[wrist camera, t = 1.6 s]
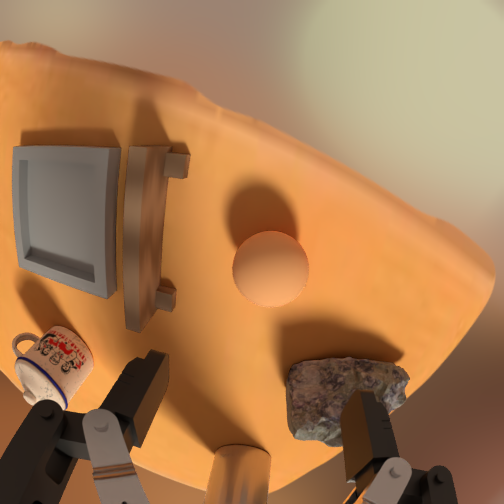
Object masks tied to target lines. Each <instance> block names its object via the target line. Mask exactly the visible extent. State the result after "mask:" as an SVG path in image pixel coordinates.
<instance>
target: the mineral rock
mask: <svg viewBox="0 0 504 504" xmlns="http://www.w3.org/2000/svg"><path fill="white" fill-rule="evenodd" d="M409 380H410V377H409V376H408V374H407V372H406V371H405V370H404V369H403V368H401V367H400V366H396V365H395V364H394V363H391V362H383V361H375V360H369V359H353V358H352V357H346V358H344V359H338V358H327V359H324V360H312V361H303V362H301V363H299V364H294V365H293V366H292V367H291V369H290V372H289V375H288V378H287V383H286V403H287V422H288V427H289V430H290V431H291V433H292V434H293V437H294V438H295V439H298V440H304V441H305V440H318V441H321V442H323V443H325V444H326V445H327V446H329V447H341V446H343V442H342V434H341V426H340V417H341V413H342V410H343V409H344V407H345V405H346V404H347V402H348V401H349V399H350V397H351V396H352V394H353V393H354V391H355V390H356V389H359V390H372V391H374V394H375V397H376V401H377V402H381V403H382V404H383V405H384V407H385V408H386V409H387V411H388V414H389V413H390V412H391V411H392V410H395V409H396V408H398V407H400V406H401V405H402V404H403V403H404V402H405V401H406V395H405V387H406V385H407V383H408V381H409Z"/></svg>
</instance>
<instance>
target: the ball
mask: <svg viewBox="0 0 504 504" xmlns="http://www.w3.org/2000/svg"><path fill="white" fill-rule="evenodd" d="M232 269H233V278H234V281H235V284H236V286H237V288H238V290H239V291H240V293H241V294H242V295H243V296H244V297H245V298H246V299H247V300H249V301H250V302H252V303H254V304H256V305H259V306H262V307H279V306H282V305H285V304H287V303H289V302H291V301H292V300H294V299H295V298H296V297H297V296H298V295H299V294H300V293H301V292H302V290H303V289H304V287H305V285H306V282H307V279H308V275H309V263H308V259H307V256H306V253H305V251H304V249H303V248H302V246H301V245H300V244H299V243H298V242H297V241H296V240H295V239H294V238H292V237H291V236H289V235H287V234H285V233H282V232H278V231H264V232H260V233H257V234H255V235H253V236H251V237H249V238H248V239H247V240H245V241H244V242H243V243H242V245H241V246H240V247H239V249H238V250H237V252H236V254H235V257H234V261H233V267H232Z"/></svg>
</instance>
